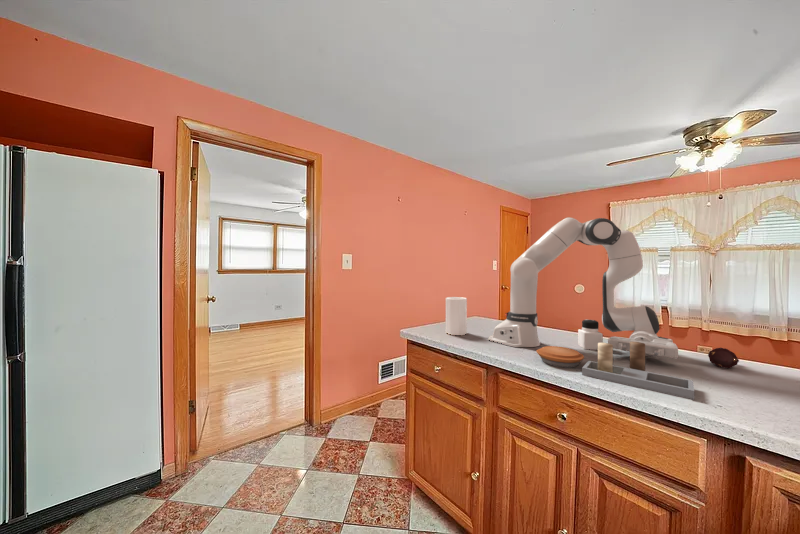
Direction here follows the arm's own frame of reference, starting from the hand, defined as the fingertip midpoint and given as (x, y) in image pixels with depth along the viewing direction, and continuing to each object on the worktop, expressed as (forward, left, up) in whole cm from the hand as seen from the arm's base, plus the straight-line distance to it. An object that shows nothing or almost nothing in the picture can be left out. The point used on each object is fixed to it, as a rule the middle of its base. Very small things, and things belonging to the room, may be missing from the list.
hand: (639, 351), depth 106 cm
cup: (-75, -1, -6) cm, 75 cm away
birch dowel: (-7, -19, -5) cm, 21 cm away
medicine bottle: (-18, +16, -6) cm, 25 cm away
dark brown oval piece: (+22, +20, -6) cm, 30 cm away
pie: (-22, -15, -6) cm, 27 cm away
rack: (0, -19, -5) cm, 20 cm away
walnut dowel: (0, -9, -6) cm, 11 cm away
